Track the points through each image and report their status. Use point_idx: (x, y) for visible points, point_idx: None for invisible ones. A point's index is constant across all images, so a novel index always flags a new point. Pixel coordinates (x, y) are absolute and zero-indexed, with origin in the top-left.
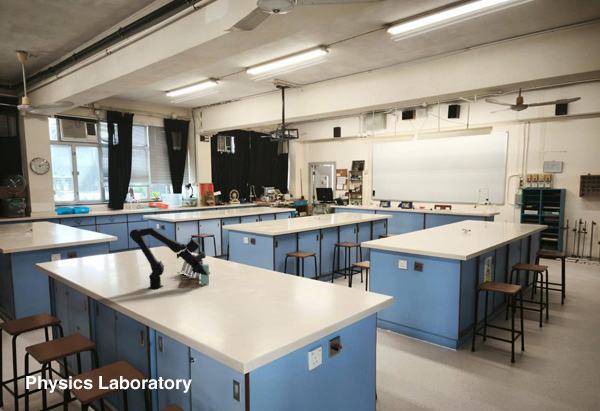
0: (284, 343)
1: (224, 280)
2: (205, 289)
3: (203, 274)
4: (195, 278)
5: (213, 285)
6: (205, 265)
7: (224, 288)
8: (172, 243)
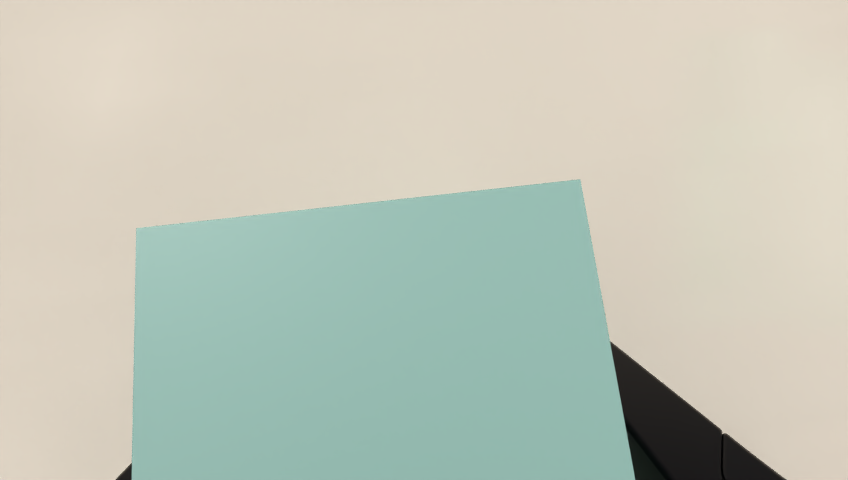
0: None
1: (253, 58)
2: (780, 330)
3: None
4: None
5: None
6: (622, 445)
7: (724, 27)
8: None
